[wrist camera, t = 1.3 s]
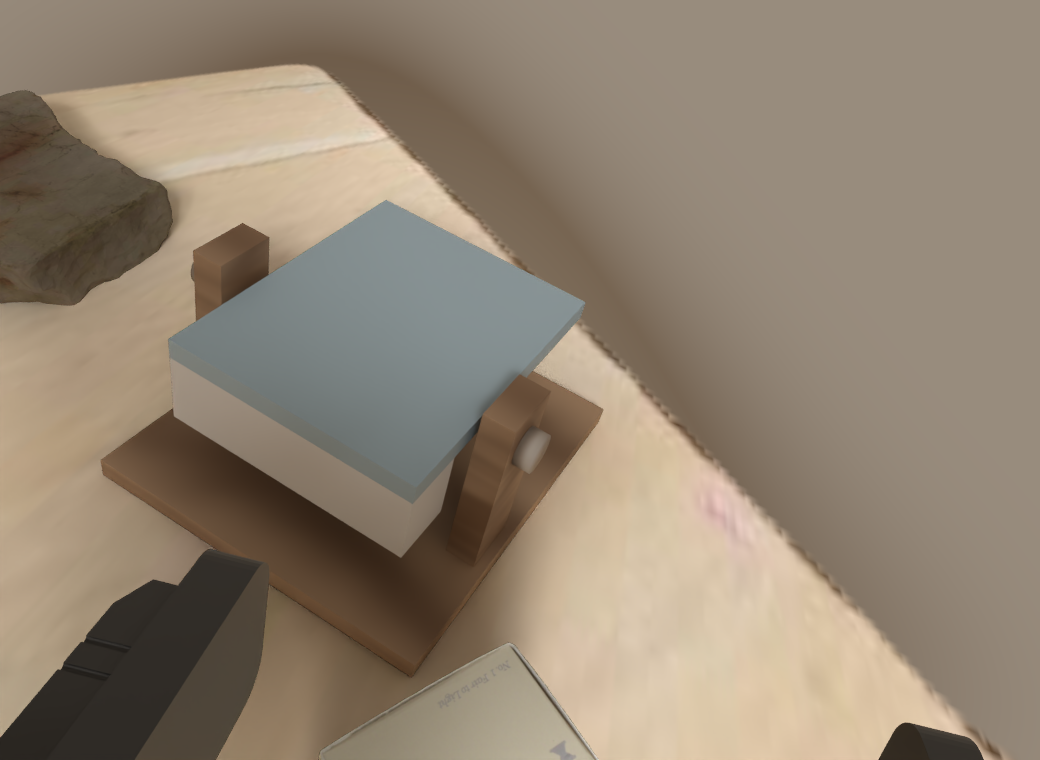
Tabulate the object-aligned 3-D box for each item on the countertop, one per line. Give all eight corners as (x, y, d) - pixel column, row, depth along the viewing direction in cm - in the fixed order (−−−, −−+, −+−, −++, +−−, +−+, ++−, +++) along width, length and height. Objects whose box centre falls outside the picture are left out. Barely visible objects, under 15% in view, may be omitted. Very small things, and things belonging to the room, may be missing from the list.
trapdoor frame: (417, 681, 36) (458, 537, 29) (98, 471, 39) (69, 301, 33) (603, 424, 49) (660, 285, 42) (351, 286, 53) (367, 140, 46)
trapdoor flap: (401, 557, 35) (416, 487, 32) (173, 416, 38) (168, 339, 35) (562, 368, 46) (585, 302, 43) (376, 268, 48) (385, 199, 45)
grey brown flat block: (34, 133, 58) (24, 74, 55) (216, 221, 55) (215, 163, 53) (-222, 242, 46) (-251, 173, 43) (-3, 360, 43) (-20, 295, 41)
